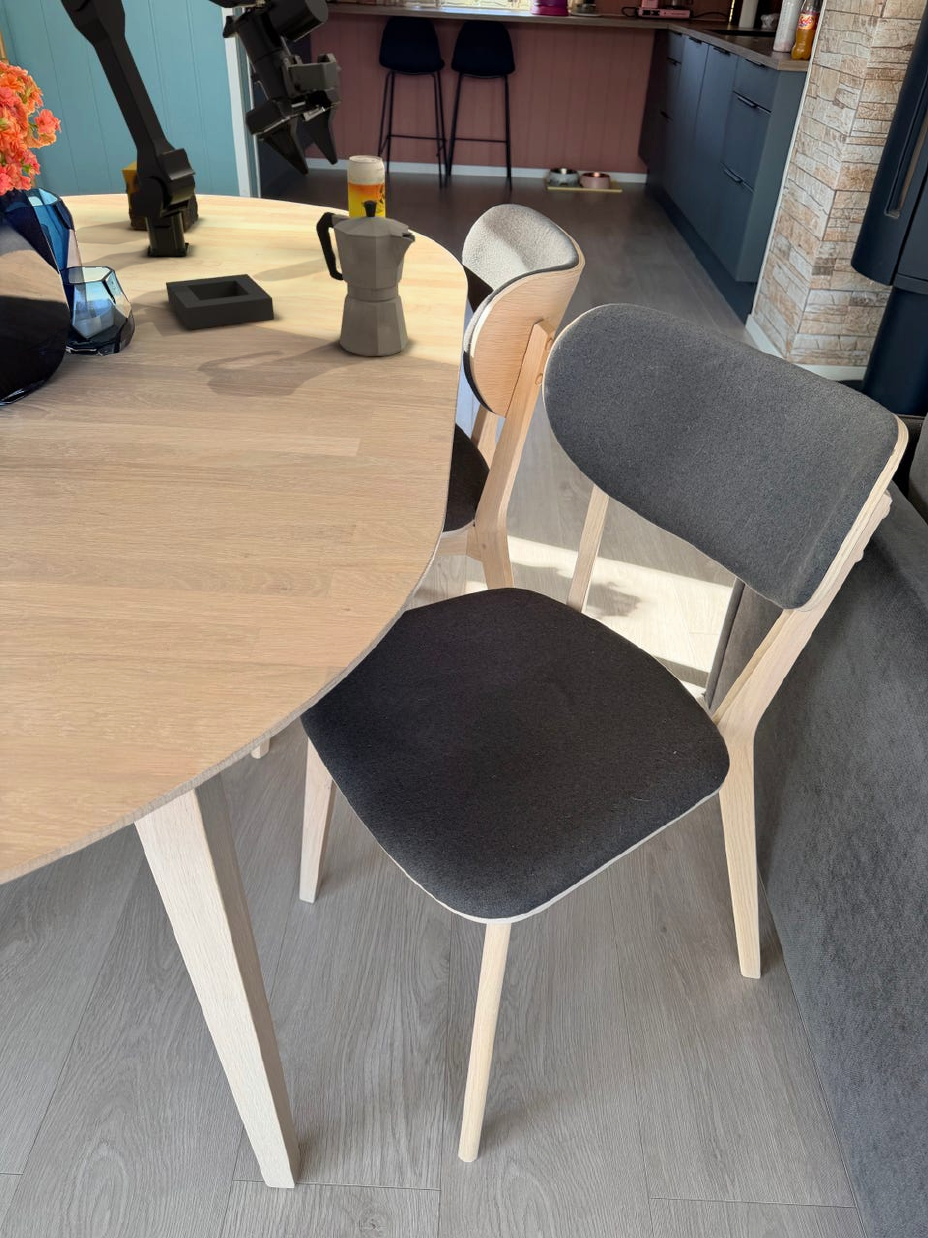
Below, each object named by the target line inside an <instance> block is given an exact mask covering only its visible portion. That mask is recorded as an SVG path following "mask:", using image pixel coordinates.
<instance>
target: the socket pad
mask: <svg viewBox="0 0 928 1238" xmlns="http://www.w3.org/2000/svg"><path fill="white" fill-rule="evenodd" d="M165 287H166V293H167V300H168V304H169V306H171V308H172V309H173V311H174V312H175V313H176V314H177V316H178V317H179V318H180V320H181V321H182V322H183V323H184V325H185V326H186V327H187V328H188V330H189V331H191V330H198V329H207V328H215V327H222V326H231V325H237V324H246V323H254V322H260V321H261V322H262V321H269V320H274V319H275V314H274V304H273V297H272V296H271V295H270V294H269V293H267V291H266V290H264V288H263V287H261V285H259V284H258V283H257V282H256V281H255V280H254V279H253V277H251V276H250V275H249V274H248V273H244V274H233V275H224V276H214V277H206V278H205V277H204V278H195V279H185V280H177V281H168V282H165Z"/></svg>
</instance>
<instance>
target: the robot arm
mask: <svg viewBox="0 0 928 1238" xmlns="http://www.w3.org/2000/svg"><path fill="white" fill-rule="evenodd" d="M208 1H209V2H210V3H213V4H215V5H217V6H218V7H221V8H223V9H238V8H248V9H247V10H245V11H244V12H242V13H241V14H240V15H238V16H237V15H235V14H228V15H226V16H225V22H224V27H223V30H222V33H221V34H222V38H223V39H232V38H238V40H239V41H240V43H241V45H242V47H243V50H244V52H245V55H246V56H247V58H248V60H249V63H250V64H251V67H252V69H253V71H254V73H253V74H251V75H250V79H251V80H252V83H253V84H258V83H259V85H260V86H261V88H262V91H263V92H264V95H265V96H266V99H267V100H265V101H263V102H262V103H259V105H257V106H255V107H253V108H252V109H250V110H249V111H246V113H245V118H244V119H245V120H244V125H245V127H246V128H247V130H248V133H249V135H250V136H251V137H254V136H257V135H259V136H257V139H258V140H259V141H263V142H264V143H265V144H266V145H267V146H268V147H269V148H271V149H272V150H273V151H274V152H276V154H278V155H279V156H280V157H282V158H283V160H285V161H286V162H287V163H288V164H289V165H290V166H292V167H293V169H295V170H296V171H297V172H298V173H299V174H300V175H301V176H303V177H305V176H307V175H309V174H310V168H309V165H308V162H307V159H306V157H305V154H304V151H303V149H302V146H301V143H300V141H299V137H298V135H297V128H298V127H297V126H298V119H299V120H300V121H301V122H303V123H301V124H300V126H301V128H302V129H303V130H304V132H305V133H306V134H307V136H308V137H309V138H310V139H311V141H312V142H313V143H314V144H315V146H316V148H317V149H318V150H319V151H320V153H321V154H322V155H323V157H324V158H325V160H327V161H328V162H329V163H330V165H331V166H334V165H336V164H338V163H339V159H338V152H337V145H336V140H335V133H334V125H333V124H334V123H333V122H334V118H335V115H336V112H337V111H338V110H339V105H338V104H340V103H341V102H342V100H341V98H340V96H339V93H338V92H337V89H336V88H339V87H340V80H339V77H340V75H341V74H342V73H343V70H342V67H341V66H339V61H338V60H337V59H336V57H335V55H334V53H332V52H331V53H321V54H318V55H317V58H316V62H312V63H303V61H302V59H301V57H300V56H299V55H298V54H297V53H296V54H291V52H290V50H289V48H288V46H287V43H286V41H285V39H287V40H288V41H290V42H296V41H298V40H300V39H301V38H303V37H305V36H306V35H307V34H309V33H310V32H312V31H314V30H315V29H316V28H317V29H318V27H320V26H321V25H323V24H325V23H326V22H327V21H328V19H329V9H328V4H327V2H326V0H208ZM60 3H61V6H62V8H63V9H64V11H65V13H66V14H67V16H68V18H69V20H70V21H71V23H72V25H73V27H74V28H75V29H76V31H77V32H78V33H80V34H81V36H83V38H85V40H86V41H87V42H88V43H89V44H90V45H91V46H92V48H93V49H94V51H95V54H96V57H97V58H98V61H99V63H100V66H101V68H102V70H103V73H104V75H105V78H106V80H107V83H108V85H109V87H110V89H111V91H112V94H113V96H114V99H115V102H116V103H117V106H118V108H119V110H120V112H121V113H120V114H121V115H122V118H123V120H124V123H125V124H126V127H127V130H128V132H129V134H130V137H131V139H132V141H133V144H134V146H135V149H136V160H137V174H138V178H139V181H140V185H141V187H140V189H139V190H138V192H137V193H136V195H135V196H134V197H133V199H132V200H131V202H130V205H131V207H132V209H133V212H134V214H135V216H138V217H145V218H146V224H147V230H146V231H147V236H148V240H149V245H148V248H147V250H146V252H145V253H146V256H147V257H180V256H181V257H184V256H185V257H186V256H188V254H189V249H190V243H189V242H186V241H185V234H184V231H183V226H182V219H181V212H180V211H181V210H184V209H188V208H189V205H190V199H191V196H192V195H193V192H194V191H195V189H196V180H195V177H194V176H196V171H195V170H194V169H193V167H192V165H190V163H191V162H190V163H189V161H190V160H189V157H188V153H187V151H186V149H185V148H184V147H181V148H175V147H174V146H173V145H172V144H171V142H169V140H168V139H167V136H166V135H165V132H164V129H163V127H162V125H161V123H160V120H159V117H158V115H157V113H156V110H155V108H154V106H153V105H154V104H153V102H152V101H151V98H150V96H149V95H150V94H149V93H148V90H147V88H146V85H145V83H144V81H143V79H142V76H141V74H140V71H139V69H138V66H137V64H136V61H135V59H134V56H133V53H132V52H131V49H130V47H129V44H128V41H127V38H126V12H125V8H124V4H123V0H60ZM260 4H264V5H265V6H264V7H262V8H261V9H260V10H258V9H256V8H253V7H256V5H260ZM284 38H285V39H284Z"/></svg>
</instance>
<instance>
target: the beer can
mask: <svg viewBox="0 0 928 1238" xmlns="http://www.w3.org/2000/svg"><path fill="white" fill-rule="evenodd" d="M385 169H386V168H385V164H384V162H383V158H382V157H380V156H375V155H363V154H362V155H353V156H350V157H349V159H348V163H347V165H346V173H347V198H348V203H347V204H348V217H349V218H350V219H351V218H356V217H362V216H366V211H365V207H364V202H365V201H368V200H372V201H375V202H377V207H376V214H375V216H379V217H384V218H386V176H385V175H386V174H385V173H386V171H385Z"/></svg>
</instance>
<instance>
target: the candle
mask: <svg viewBox="0 0 928 1238" xmlns="http://www.w3.org/2000/svg"><path fill="white" fill-rule="evenodd" d="M189 163H190V165H191V161H190V160H189ZM191 166H192V165H191ZM121 172H122V177H123V180H124V183H125V193H126V195H127V203H128V217H129V221H130V227H131V228H132V229H134V230H137V231H138V230H139V231H148V230H147V224H146V218H145V217H138V216H135V214H134V212H133V209H132V207H131V205H130V202H131V200H132V199H133V197H134V196H135V195H136V193H137V192H138V190H139V189H140V187H141V185H140V181H139V178H138V174H137V159H136V160H134V161H133V162H131V163H130V164H129V165H128V166H126V167H124V168H122V169H121ZM198 204H199V203H198V201H197V196H196V192H195V190H194V192H193V195H192V196H191V199H190V205H189V208H188V209H184V210H181V211H180V212H181V219H182V226H183V232H186V231H188V230H189V229H191V227H192V226H193V225H194V224H195V223H196V222H197V221H198V220H199V205H198Z"/></svg>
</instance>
